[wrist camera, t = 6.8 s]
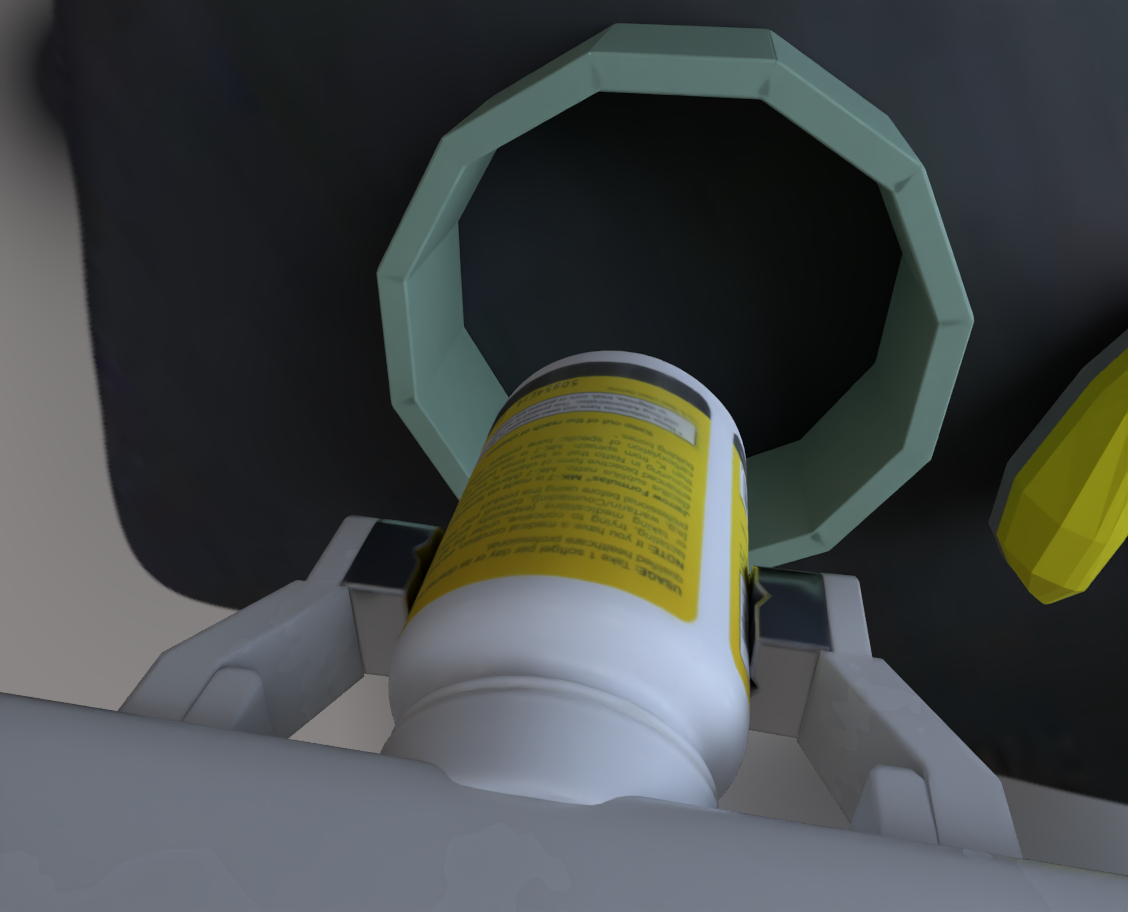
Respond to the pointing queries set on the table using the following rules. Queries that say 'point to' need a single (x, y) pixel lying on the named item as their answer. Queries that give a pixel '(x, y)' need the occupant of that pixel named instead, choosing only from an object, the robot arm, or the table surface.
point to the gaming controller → (1069, 484)
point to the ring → (711, 69)
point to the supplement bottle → (588, 597)
